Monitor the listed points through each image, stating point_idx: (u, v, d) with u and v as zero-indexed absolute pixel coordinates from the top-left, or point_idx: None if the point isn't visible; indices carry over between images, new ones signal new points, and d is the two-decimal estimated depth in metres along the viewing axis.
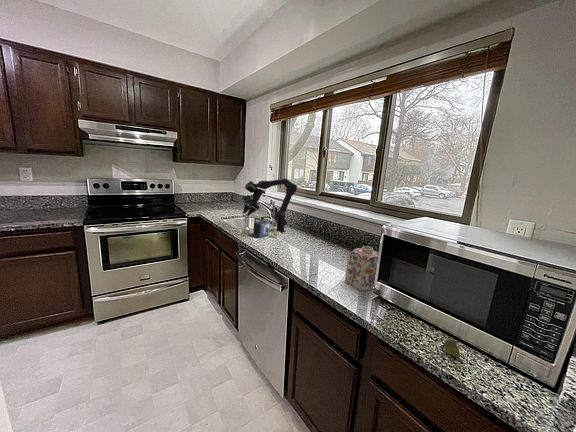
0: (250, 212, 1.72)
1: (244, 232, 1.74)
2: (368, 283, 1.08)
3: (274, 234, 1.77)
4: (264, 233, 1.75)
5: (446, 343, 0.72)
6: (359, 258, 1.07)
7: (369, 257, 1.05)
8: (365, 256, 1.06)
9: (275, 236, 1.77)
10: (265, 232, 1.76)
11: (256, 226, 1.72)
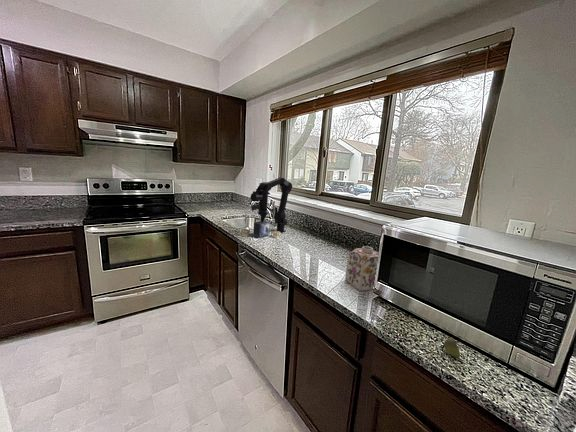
0: (262, 218, 1.74)
1: (244, 232, 1.74)
2: (368, 283, 1.08)
3: (274, 234, 1.77)
4: (264, 233, 1.75)
5: (446, 343, 0.72)
6: (359, 258, 1.07)
7: (369, 257, 1.05)
8: (365, 256, 1.06)
9: (275, 236, 1.77)
10: (265, 232, 1.76)
11: (256, 226, 1.72)
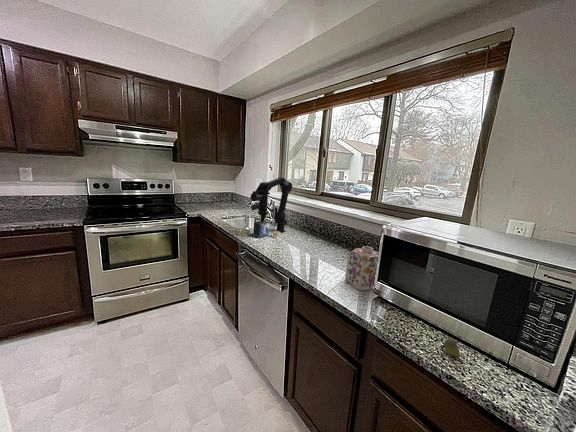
0: (262, 218, 1.74)
1: (244, 232, 1.74)
2: (368, 283, 1.08)
3: (274, 234, 1.77)
4: (264, 233, 1.75)
5: (446, 343, 0.72)
6: (359, 258, 1.07)
7: (369, 257, 1.05)
8: (365, 256, 1.06)
9: (275, 236, 1.77)
10: (265, 232, 1.76)
11: (256, 225, 1.72)
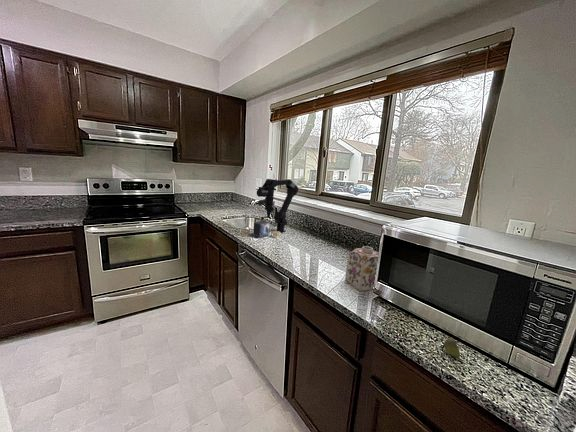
0: (268, 213, 1.80)
1: (244, 232, 1.74)
2: (368, 283, 1.08)
3: (274, 234, 1.77)
4: (264, 233, 1.75)
5: (446, 343, 0.72)
6: (359, 258, 1.07)
7: (369, 257, 1.05)
8: (365, 256, 1.06)
9: (275, 236, 1.77)
10: (265, 232, 1.76)
11: (256, 226, 1.72)
